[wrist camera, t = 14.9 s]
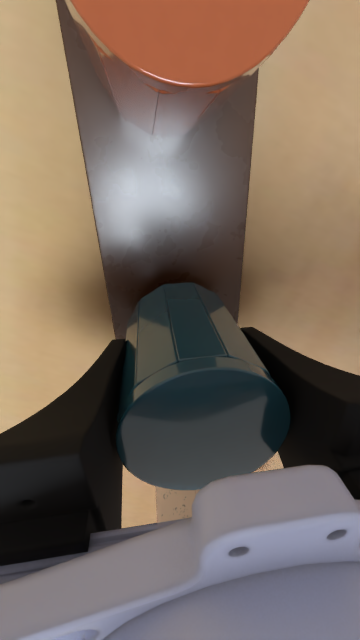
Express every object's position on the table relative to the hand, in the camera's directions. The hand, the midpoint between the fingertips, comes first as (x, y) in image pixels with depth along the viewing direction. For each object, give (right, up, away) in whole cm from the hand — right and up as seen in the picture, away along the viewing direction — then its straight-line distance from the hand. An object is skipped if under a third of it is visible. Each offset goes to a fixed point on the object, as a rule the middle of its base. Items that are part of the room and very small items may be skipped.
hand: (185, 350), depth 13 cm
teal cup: (0, +1, +2) cm, 2 cm away
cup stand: (-1, +8, +2) cm, 8 cm away
